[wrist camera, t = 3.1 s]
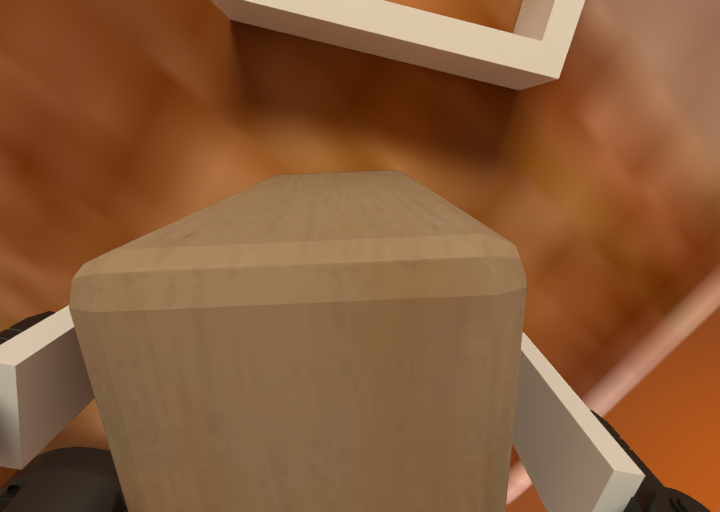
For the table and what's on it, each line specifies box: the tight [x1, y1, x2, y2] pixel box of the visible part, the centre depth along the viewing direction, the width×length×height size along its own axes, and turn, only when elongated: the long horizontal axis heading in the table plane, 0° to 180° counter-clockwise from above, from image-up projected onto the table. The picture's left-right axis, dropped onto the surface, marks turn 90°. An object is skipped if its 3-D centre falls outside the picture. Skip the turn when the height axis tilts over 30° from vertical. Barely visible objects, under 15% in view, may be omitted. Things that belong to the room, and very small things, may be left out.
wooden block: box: [69, 170, 527, 512], centre depth 18 cm, size 10×10×20 cm
